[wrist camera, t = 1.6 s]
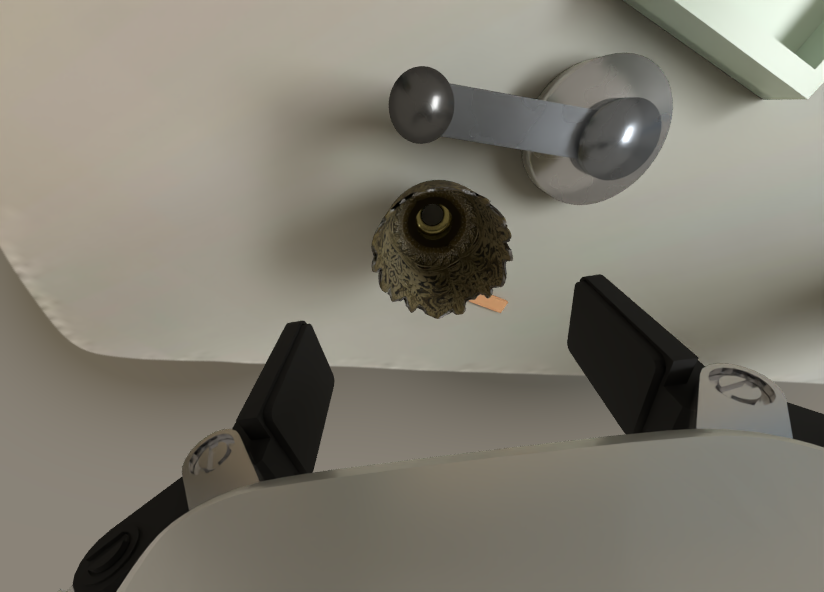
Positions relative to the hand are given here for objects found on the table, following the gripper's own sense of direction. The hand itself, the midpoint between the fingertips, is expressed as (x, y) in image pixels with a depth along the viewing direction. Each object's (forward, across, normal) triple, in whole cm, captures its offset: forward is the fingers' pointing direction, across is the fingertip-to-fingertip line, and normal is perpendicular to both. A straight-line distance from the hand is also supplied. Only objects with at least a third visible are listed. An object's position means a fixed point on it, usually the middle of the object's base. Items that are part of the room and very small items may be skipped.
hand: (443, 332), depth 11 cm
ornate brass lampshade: (+14, -1, 0) cm, 14 cm away
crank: (+11, -6, -5) cm, 14 cm away
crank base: (+14, -11, -3) cm, 18 cm away
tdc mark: (+14, -4, +8) cm, 16 cm away
